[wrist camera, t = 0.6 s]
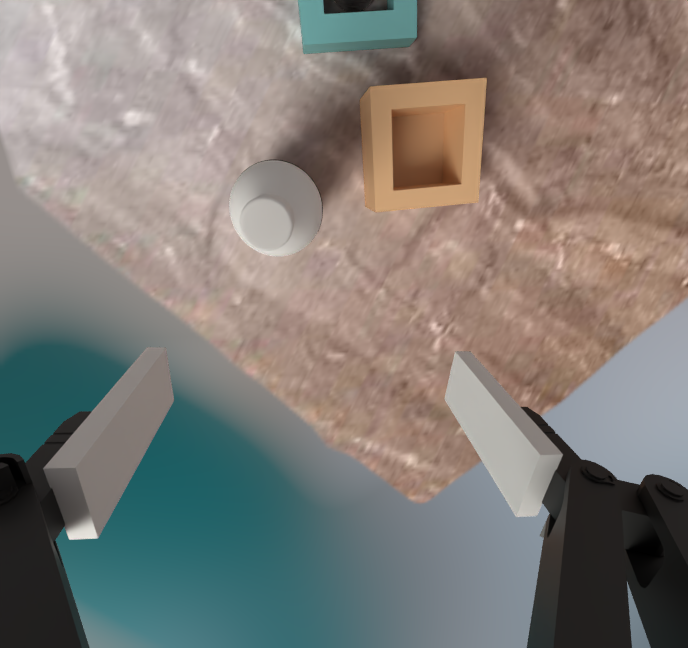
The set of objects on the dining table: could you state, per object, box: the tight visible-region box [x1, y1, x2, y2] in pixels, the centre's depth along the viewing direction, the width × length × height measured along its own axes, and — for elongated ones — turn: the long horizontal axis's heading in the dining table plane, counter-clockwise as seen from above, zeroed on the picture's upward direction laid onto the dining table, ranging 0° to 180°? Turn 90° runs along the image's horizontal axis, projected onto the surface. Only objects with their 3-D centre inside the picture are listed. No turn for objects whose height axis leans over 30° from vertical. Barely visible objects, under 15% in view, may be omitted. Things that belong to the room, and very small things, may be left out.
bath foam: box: [229, 160, 323, 256], centre depth 28 cm, size 7×7×20 cm
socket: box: [360, 78, 487, 212], centre depth 34 cm, size 10×10×6 cm
